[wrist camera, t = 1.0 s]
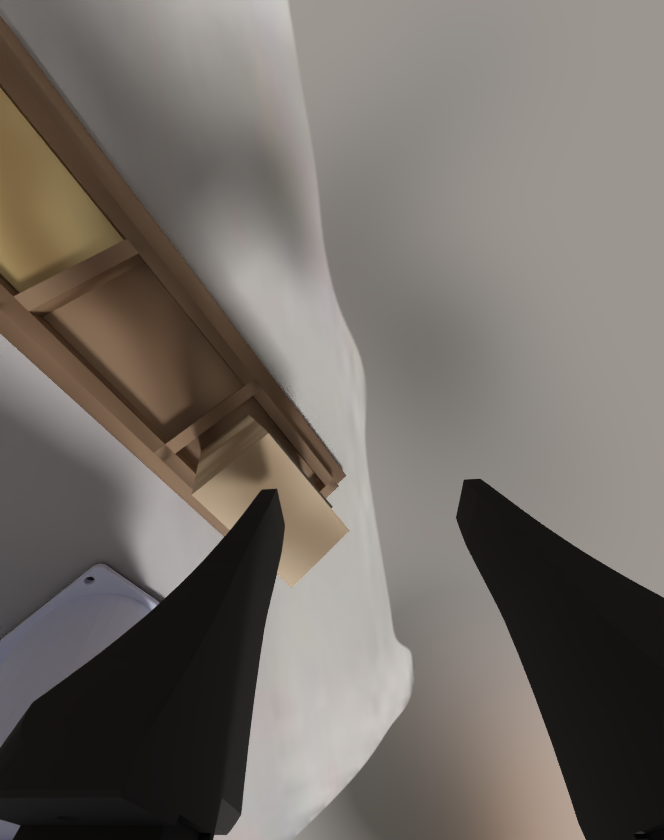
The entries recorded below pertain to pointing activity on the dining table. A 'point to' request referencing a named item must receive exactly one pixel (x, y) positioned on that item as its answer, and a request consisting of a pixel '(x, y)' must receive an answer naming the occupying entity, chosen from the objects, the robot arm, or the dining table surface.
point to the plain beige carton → (267, 469)
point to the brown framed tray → (120, 300)
